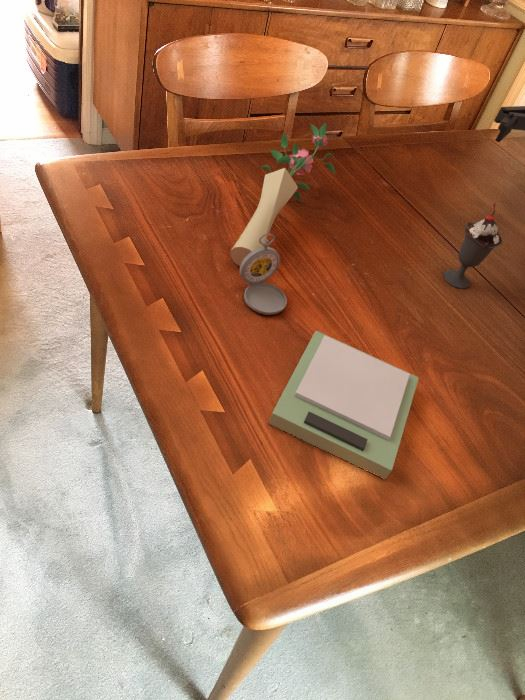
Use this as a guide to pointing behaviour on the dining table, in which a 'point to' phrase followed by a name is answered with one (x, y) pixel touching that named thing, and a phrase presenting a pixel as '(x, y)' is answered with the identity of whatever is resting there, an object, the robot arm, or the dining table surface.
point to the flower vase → (277, 193)
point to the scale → (347, 404)
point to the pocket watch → (259, 293)
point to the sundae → (474, 248)
